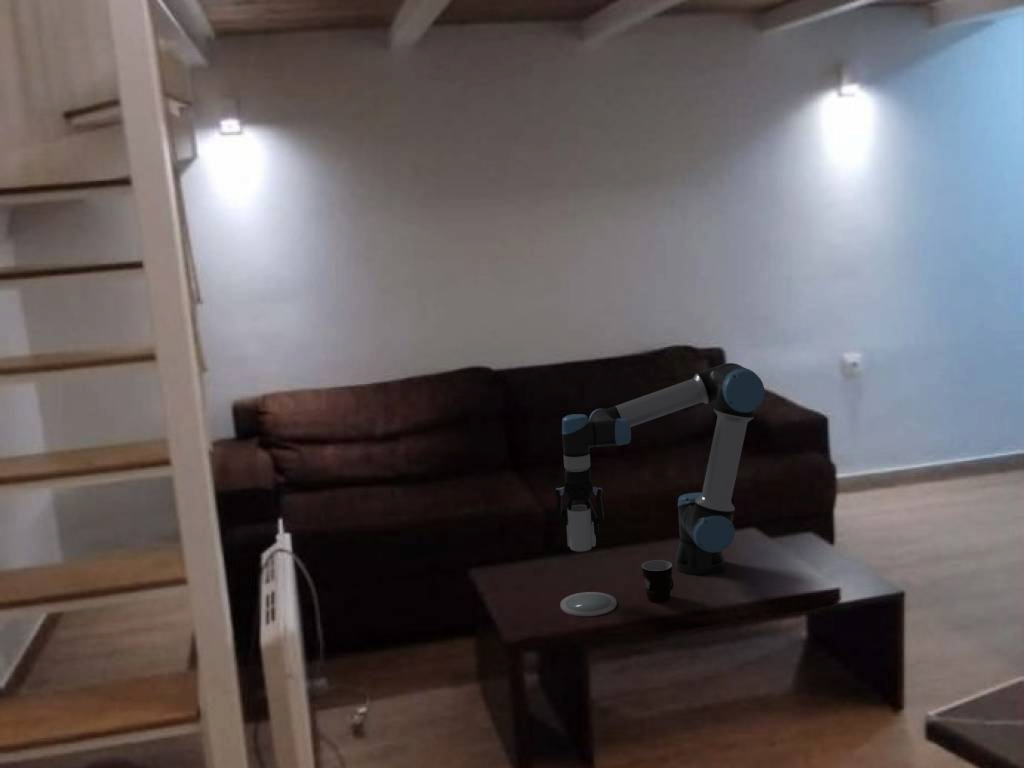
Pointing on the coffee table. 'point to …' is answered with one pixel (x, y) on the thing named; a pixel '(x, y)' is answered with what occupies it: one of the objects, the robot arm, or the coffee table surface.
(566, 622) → the coffee table surface
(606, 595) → the plate
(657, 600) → the coffee mug
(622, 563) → the coffee table surface
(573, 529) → the mug
